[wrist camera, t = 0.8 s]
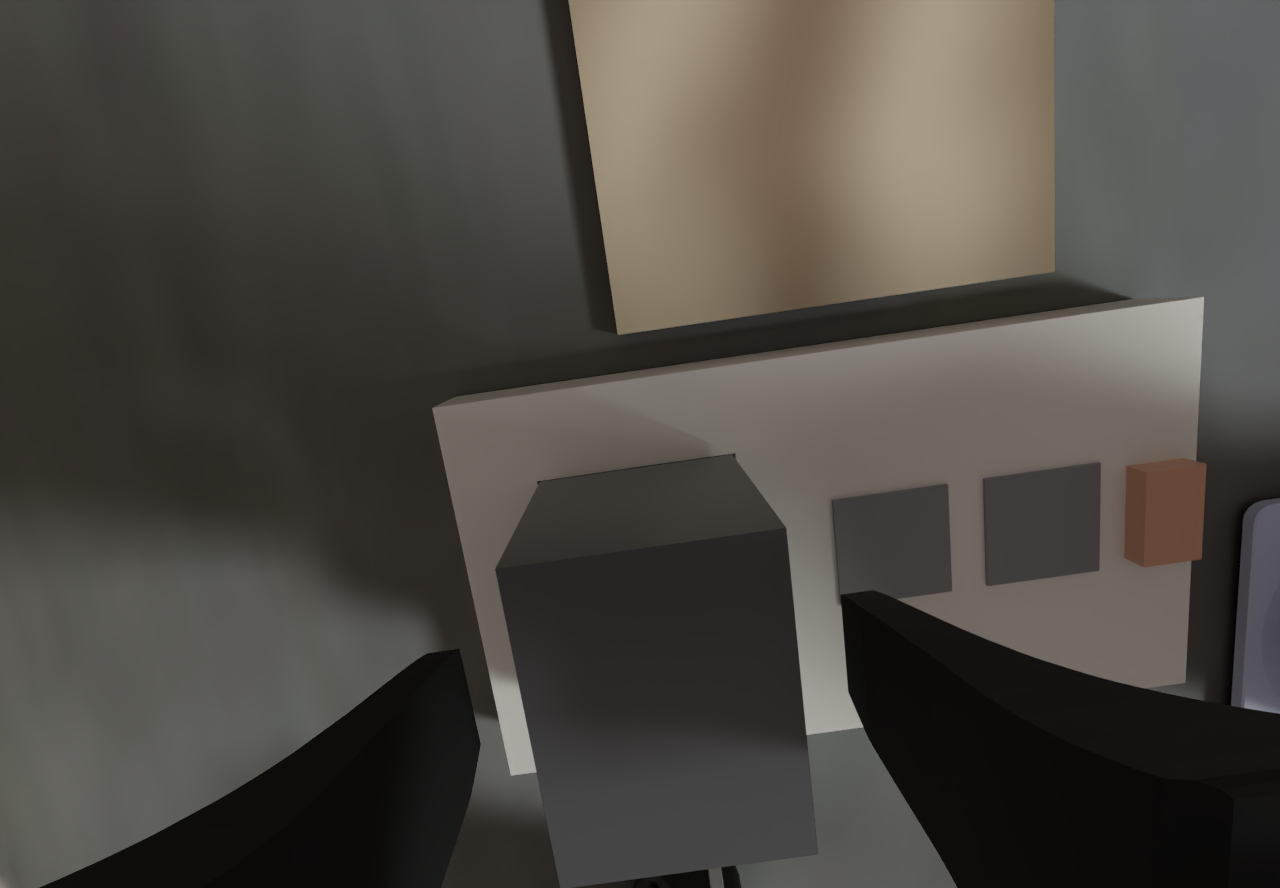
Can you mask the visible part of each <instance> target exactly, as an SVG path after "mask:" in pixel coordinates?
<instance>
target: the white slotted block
mask: <svg viewBox="0 0 1280 888" xmlns="http://www.w3.org/2000/svg"><path fill="white" fill-rule="evenodd" d="M1203 308H1204V297H1181V298H1144V299H1129V300H1122V301H1116V302H1109V303H1102V304H1095V305H1088V306H1081V307H1074V308H1067V309H1060V310H1053V311H1046V312H1039V313H1032V314H1025V315H1018V316H1011V317H1005V318H998V319H991V320H984V321H977V322H970V323H963V324H956V325H949V326H942V327H935V328H928V329H921V330H914V331H907V332H900V333H894V334H887V335H880V336H873V337H866V338H859V339H852V340H845V341H838V342H831V343H824V344H817V345H810V346H803V347H796V348H789V349H783V350H776V351H769V352H762V353H755V354H748V355H741V356H734V357H727V358H720V359H713V360H706V361H699V362H692V363H685V364H679V365H672V366H665V367H658V368H651V369H644V370H637V371H630V372H623V373H616V374H609V375H602V376H595V377H588V378H581V379H574V380H568V381H561V382H554V383H547V384H540V385H533V386H526V387H519V388H512V389H505V390H498V391H491V392H484V393H477V394H470V395H463V396H457V397H454V398H452V399H450V400H448V401H446V402H443V403H441V404H439V405H437V406H435V407H433V408H432V410H433V415H434V419H435V424H436V429H437V433H438V438H439V443H440V447H441V452H442V457H443V461H444V466H445V471H446V475H447V480H448V485H449V489H450V494H451V498H452V503H453V508H454V512H455V517H456V522H457V526H458V531H459V536H460V540H461V545H462V550H463V554H464V559H465V564H466V568H467V573H468V578H469V582H470V587H471V592H472V596H473V601H474V606H475V610H476V615H477V620H478V624H479V629H480V634H481V638H482V643H483V648H484V652H485V657H486V662H487V666H488V671H489V676H490V680H491V685H492V690H493V694H494V699H495V704H496V708H497V713H498V718H499V722H500V727H501V731H502V736H503V741H504V745H505V750H506V755H507V759H508V764H509V769H510V773H511V776H512V775H519V774H527V773H534V772H536V767H535V762H534V757H533V752H532V748H531V743H530V738H529V733H528V728H527V723H526V718H525V713H524V708H523V704H522V699H521V694H520V689H519V684H518V679H517V674H516V669H515V664H514V660H513V655H512V650H511V645H510V640H509V635H508V630H507V625H506V620H505V616H504V611H503V606H502V601H501V596H500V591H499V586H498V581H497V576H496V572H495V568H496V566H497V564H498V562H499V560H500V558H501V556H502V554H503V552H504V551H505V549H506V547H507V545H508V543H509V541H510V539H511V537H512V535H513V533H514V531H515V529H516V527H517V525H518V523H519V521H520V519H521V517H522V516H523V514H524V512H525V510H526V508H527V506H528V504H529V502H530V500H531V498H532V496H533V494H534V492H535V490H536V488H537V486H538V484H539V482H542V481H549V480H551V479H558V478H565V477H572V476H579V475H586V474H593V473H600V472H607V471H614V470H621V469H628V468H635V467H642V466H649V465H656V464H663V463H670V462H677V461H684V460H691V459H698V458H705V457H712V456H719V455H731V454H732V455H733V456H734V458H735V459H736V460H737V462H738V463H739V464H740V466H741V467H742V469H743V470H744V471H745V473H746V474H747V475H748V477H749V478H750V479H751V481H752V482H753V483H754V485H755V486H756V487H757V489H758V490H759V492H760V493H761V494H762V496H763V497H764V498H765V500H766V501H767V502H768V504H769V505H770V506H771V508H772V509H773V510H774V512H775V513H776V515H777V516H778V517H779V519H780V520H781V521H782V523H783V524H784V525H785V527H786V529H787V540H788V550H789V560H790V571H791V581H792V591H793V602H794V612H795V622H796V632H797V643H798V653H799V663H800V674H801V684H802V694H803V705H804V715H805V725H806V735H810V734H817V733H825V732H832V731H839V730H846V729H854V728H861V727H863V725H862V723H861V720H860V718H859V716H858V714H857V711H856V709H855V707H854V704H853V702H852V700H851V697H850V695H849V693H848V682H847V670H846V657H845V644H844V632H843V619H842V607H841V595H842V594H849V593H856V592H863V591H870V590H875V591H878V592H881V593H883V594H886V595H888V596H890V597H893V598H895V599H897V600H899V601H902V602H904V603H906V604H908V605H910V606H913V607H915V608H917V609H919V610H921V611H923V612H926V613H928V614H930V615H932V616H934V617H937V618H939V619H941V620H943V621H945V622H948V623H950V624H952V625H954V626H957V627H959V628H961V629H963V630H966V631H968V632H970V633H973V634H975V635H978V636H980V637H982V638H985V639H987V640H990V641H992V642H995V643H998V644H1000V645H1003V646H1005V647H1008V648H1010V649H1013V650H1016V651H1018V652H1021V653H1024V654H1026V655H1029V656H1032V657H1035V658H1038V659H1041V660H1044V661H1047V662H1050V663H1053V664H1057V665H1060V666H1063V667H1066V668H1070V669H1073V670H1076V671H1079V672H1082V673H1086V674H1089V675H1093V676H1096V677H1100V678H1104V679H1108V680H1111V681H1115V682H1119V683H1123V684H1128V685H1132V686H1136V687H1140V688H1152V687H1159V686H1166V685H1174V684H1181V683H1186V662H1187V641H1188V620H1189V599H1190V578H1191V561H1193V560H1201V559H1202V543H1203V524H1204V504H1205V485H1206V465H1207V464H1206V463H1202V462H1198V461H1196V453H1197V433H1198V412H1199V391H1200V370H1201V349H1202V328H1203Z"/></svg>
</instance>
